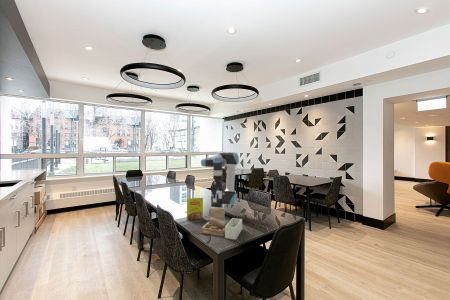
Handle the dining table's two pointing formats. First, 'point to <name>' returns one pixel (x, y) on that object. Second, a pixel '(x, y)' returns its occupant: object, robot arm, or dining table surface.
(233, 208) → the dining table surface
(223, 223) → the board
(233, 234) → the tote
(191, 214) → the food package
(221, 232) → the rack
